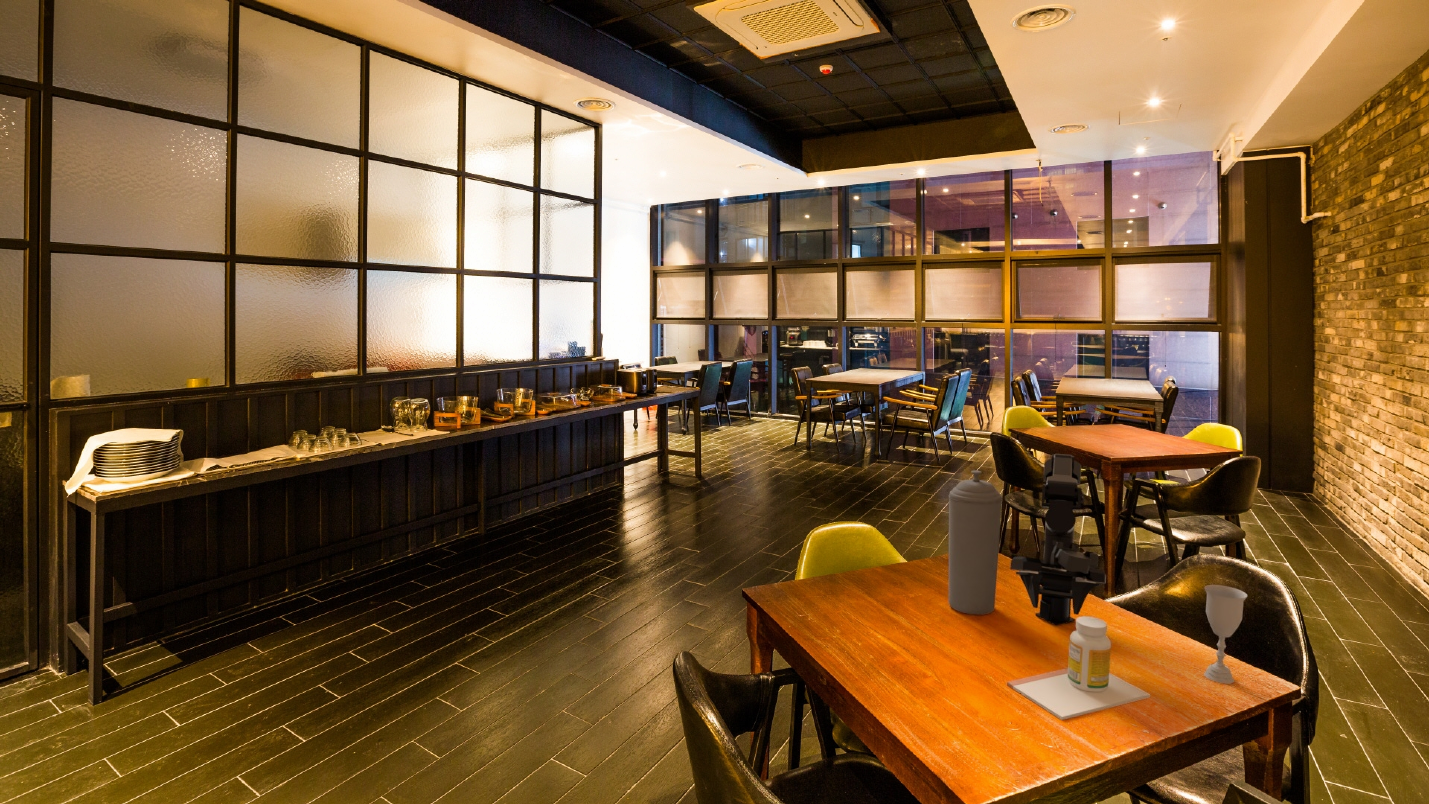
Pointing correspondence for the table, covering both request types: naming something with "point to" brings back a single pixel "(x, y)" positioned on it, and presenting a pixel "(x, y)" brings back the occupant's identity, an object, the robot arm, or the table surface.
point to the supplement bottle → (1089, 655)
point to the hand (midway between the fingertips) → (1055, 611)
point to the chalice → (1223, 624)
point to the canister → (973, 545)
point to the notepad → (1074, 694)
